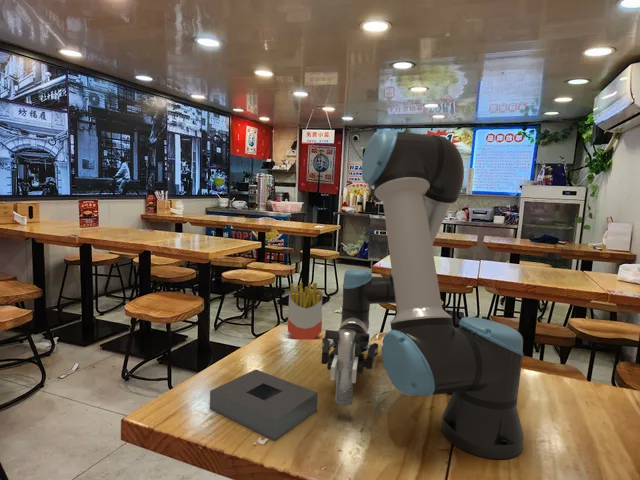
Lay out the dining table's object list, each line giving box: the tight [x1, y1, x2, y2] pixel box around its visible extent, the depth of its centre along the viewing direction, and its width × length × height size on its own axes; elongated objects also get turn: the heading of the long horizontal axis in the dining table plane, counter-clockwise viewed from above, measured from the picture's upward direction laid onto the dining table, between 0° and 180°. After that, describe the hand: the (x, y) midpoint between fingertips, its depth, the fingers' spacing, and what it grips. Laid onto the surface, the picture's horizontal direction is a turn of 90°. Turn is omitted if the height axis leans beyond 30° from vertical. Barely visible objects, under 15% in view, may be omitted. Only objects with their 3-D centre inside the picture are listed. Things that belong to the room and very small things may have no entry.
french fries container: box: [287, 281, 324, 340], centre depth 130 cm, size 5×11×18 cm, turn 96°
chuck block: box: [209, 368, 319, 442], centre depth 85 cm, size 18×14×4 cm
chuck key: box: [324, 329, 370, 406], centre depth 83 cm, size 9×4×15 cm, turn 81°
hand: (343, 374), depth 77 cm, fingers closed on chuck key, 3 cm apart
